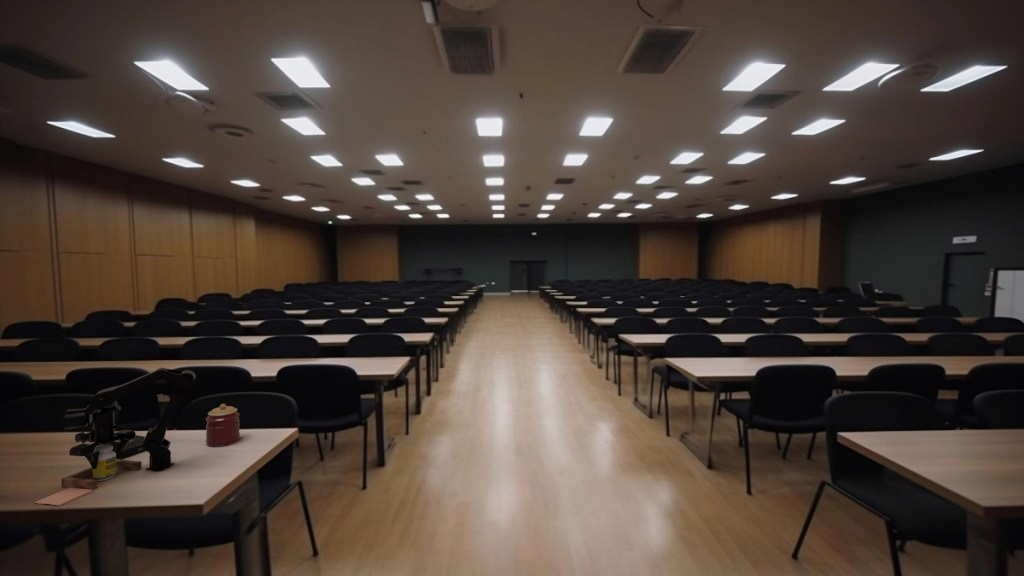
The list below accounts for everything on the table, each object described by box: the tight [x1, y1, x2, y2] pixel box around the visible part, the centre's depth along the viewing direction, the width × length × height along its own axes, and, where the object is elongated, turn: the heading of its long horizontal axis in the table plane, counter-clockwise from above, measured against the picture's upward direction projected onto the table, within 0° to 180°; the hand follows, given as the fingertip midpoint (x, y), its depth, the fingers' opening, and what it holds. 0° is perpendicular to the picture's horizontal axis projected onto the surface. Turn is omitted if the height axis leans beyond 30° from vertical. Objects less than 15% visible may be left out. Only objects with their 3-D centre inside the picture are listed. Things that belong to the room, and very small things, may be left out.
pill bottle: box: [92, 445, 117, 482], centre depth 159 cm, size 6×6×12 cm
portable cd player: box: [96, 434, 146, 460], centre depth 183 cm, size 16×17×4 cm
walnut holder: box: [61, 459, 142, 491], centre depth 160 cm, size 14×17×3 cm
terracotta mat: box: [34, 488, 94, 507], centre depth 145 cm, size 10×10×1 cm
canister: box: [205, 403, 241, 447], centre depth 195 cm, size 13×13×18 cm
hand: (104, 464), depth 160 cm, fingers closed on pill bottle, 6 cm apart
